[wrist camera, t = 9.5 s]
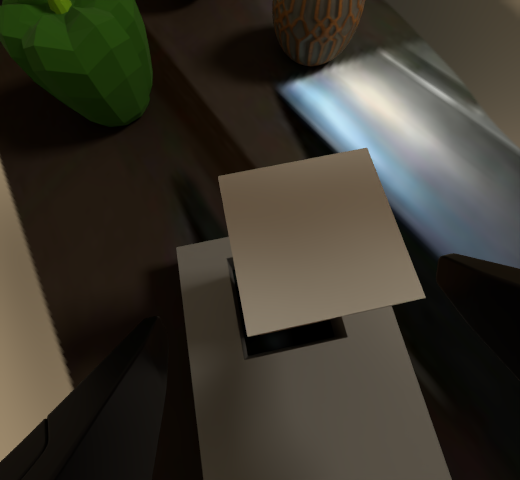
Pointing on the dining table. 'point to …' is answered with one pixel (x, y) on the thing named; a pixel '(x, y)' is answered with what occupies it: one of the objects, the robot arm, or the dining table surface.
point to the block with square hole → (300, 391)
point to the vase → (315, 28)
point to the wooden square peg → (314, 242)
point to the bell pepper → (83, 54)
